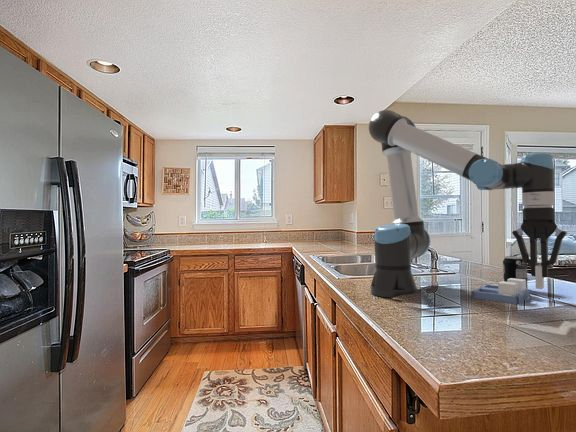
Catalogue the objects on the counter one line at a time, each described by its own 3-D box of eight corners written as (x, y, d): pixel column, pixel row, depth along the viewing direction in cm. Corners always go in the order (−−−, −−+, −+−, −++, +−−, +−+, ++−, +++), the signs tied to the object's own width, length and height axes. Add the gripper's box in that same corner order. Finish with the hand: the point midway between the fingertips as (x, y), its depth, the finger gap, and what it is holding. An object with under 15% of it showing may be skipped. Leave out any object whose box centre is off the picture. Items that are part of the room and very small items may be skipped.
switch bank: (471, 301, 101) (471, 290, 101) (486, 294, 111) (486, 283, 111) (519, 309, 93) (518, 296, 93) (530, 299, 102) (530, 288, 102)
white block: (498, 300, 98) (498, 282, 98) (502, 298, 100) (501, 281, 100) (514, 302, 95) (514, 284, 95) (518, 300, 97) (517, 282, 97)
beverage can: (504, 290, 116) (503, 255, 116) (527, 292, 112) (526, 256, 112) (503, 294, 110) (502, 257, 110) (527, 296, 106) (526, 258, 107)
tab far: (507, 296, 102) (507, 279, 102) (510, 294, 105) (510, 278, 105) (523, 298, 100) (522, 281, 100) (526, 296, 102) (525, 279, 102)
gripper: (508, 207, 100) (510, 286, 100) (564, 206, 91) (566, 293, 91) (515, 208, 106) (516, 283, 105) (568, 206, 96) (570, 289, 96)
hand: (539, 287), depth 98 cm, fingers closed
